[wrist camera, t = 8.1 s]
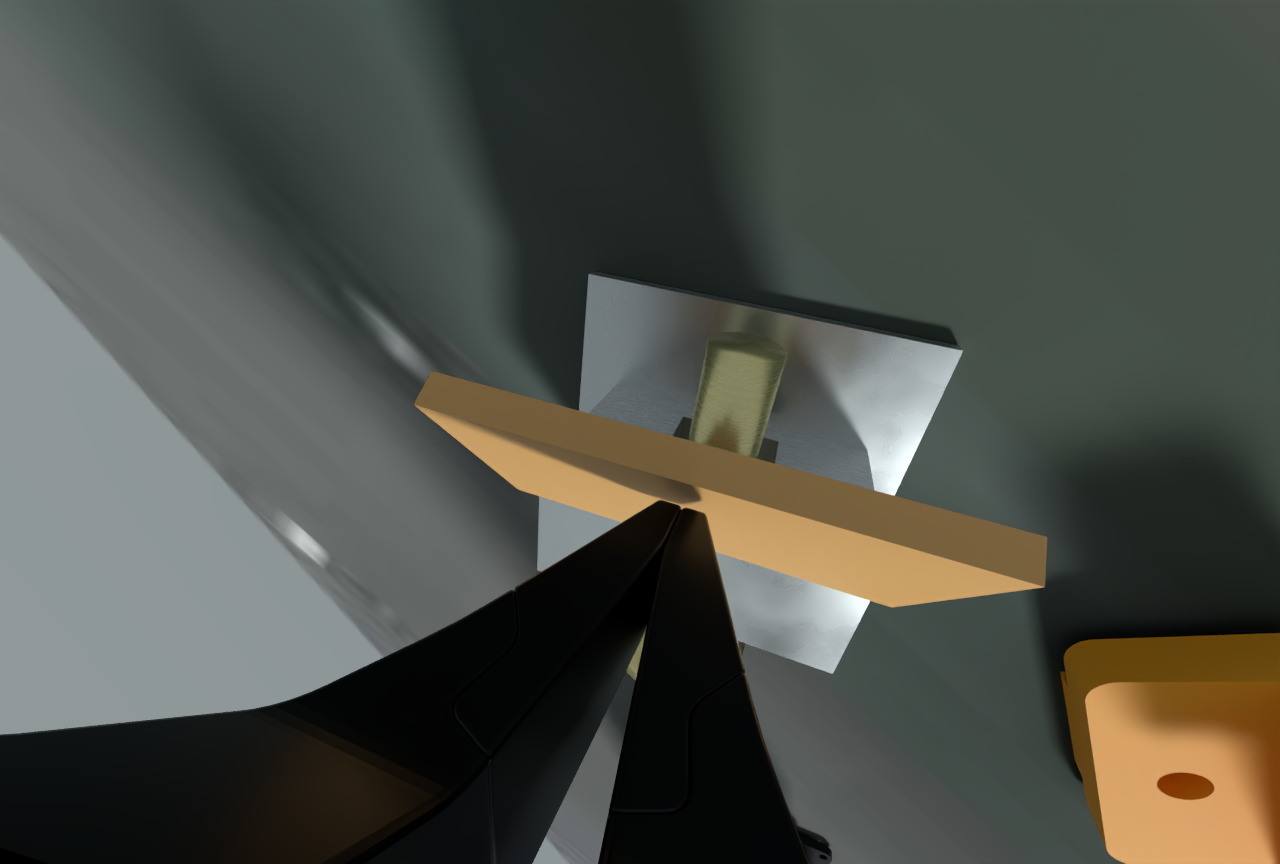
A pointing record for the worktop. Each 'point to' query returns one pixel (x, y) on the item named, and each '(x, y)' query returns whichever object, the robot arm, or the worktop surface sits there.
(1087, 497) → the worktop surface
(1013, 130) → the worktop surface
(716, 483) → the tan flat plate
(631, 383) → the hitch block
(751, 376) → the pin
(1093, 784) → the bracket
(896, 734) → the worktop surface
